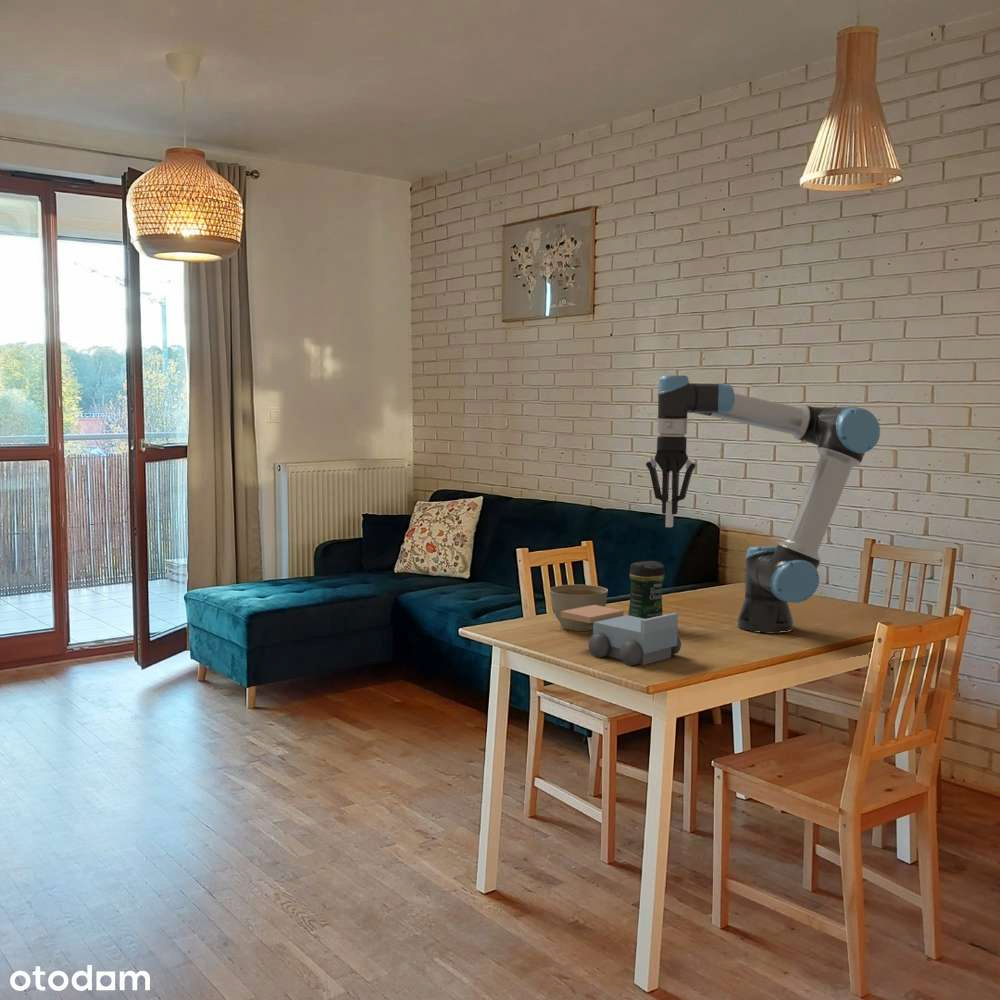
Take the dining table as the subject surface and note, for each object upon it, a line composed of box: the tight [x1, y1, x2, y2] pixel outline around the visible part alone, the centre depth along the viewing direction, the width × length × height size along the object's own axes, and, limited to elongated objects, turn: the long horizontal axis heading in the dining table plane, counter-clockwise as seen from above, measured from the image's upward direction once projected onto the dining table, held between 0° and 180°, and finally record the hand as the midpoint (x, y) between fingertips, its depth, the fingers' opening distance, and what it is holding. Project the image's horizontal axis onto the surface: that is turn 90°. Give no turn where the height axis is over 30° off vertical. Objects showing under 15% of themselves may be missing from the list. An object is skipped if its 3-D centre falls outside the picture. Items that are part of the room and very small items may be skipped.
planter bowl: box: [548, 584, 609, 632], centre depth 280 cm, size 16×16×11 cm
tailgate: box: [561, 605, 625, 623], centre depth 260 cm, size 2×13×10 cm
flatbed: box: [588, 612, 682, 667], centre depth 250 cm, size 16×17×11 cm
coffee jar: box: [627, 560, 665, 619], centre depth 282 cm, size 10×8×19 cm
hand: (669, 526), depth 263 cm, fingers closed
